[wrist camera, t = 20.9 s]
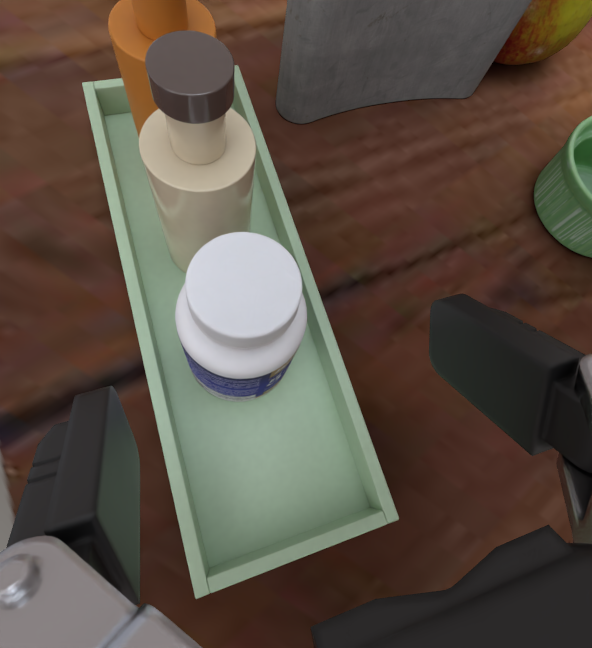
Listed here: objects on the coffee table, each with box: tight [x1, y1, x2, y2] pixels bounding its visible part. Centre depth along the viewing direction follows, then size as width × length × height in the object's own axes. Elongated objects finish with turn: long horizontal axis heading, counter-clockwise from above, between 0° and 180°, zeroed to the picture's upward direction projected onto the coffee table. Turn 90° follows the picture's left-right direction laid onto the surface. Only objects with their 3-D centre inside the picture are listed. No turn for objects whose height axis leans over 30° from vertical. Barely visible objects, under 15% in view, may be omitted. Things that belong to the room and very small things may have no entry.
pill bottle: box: [175, 232, 307, 402], centre depth 19 cm, size 5×5×9 cm
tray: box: [82, 65, 399, 599], centre depth 23 cm, size 9×27×3 cm, turn 18°
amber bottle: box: [108, 0, 216, 137], centre depth 21 cm, size 5×5×12 cm
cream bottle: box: [139, 30, 256, 273], centre depth 19 cm, size 5×5×12 cm
